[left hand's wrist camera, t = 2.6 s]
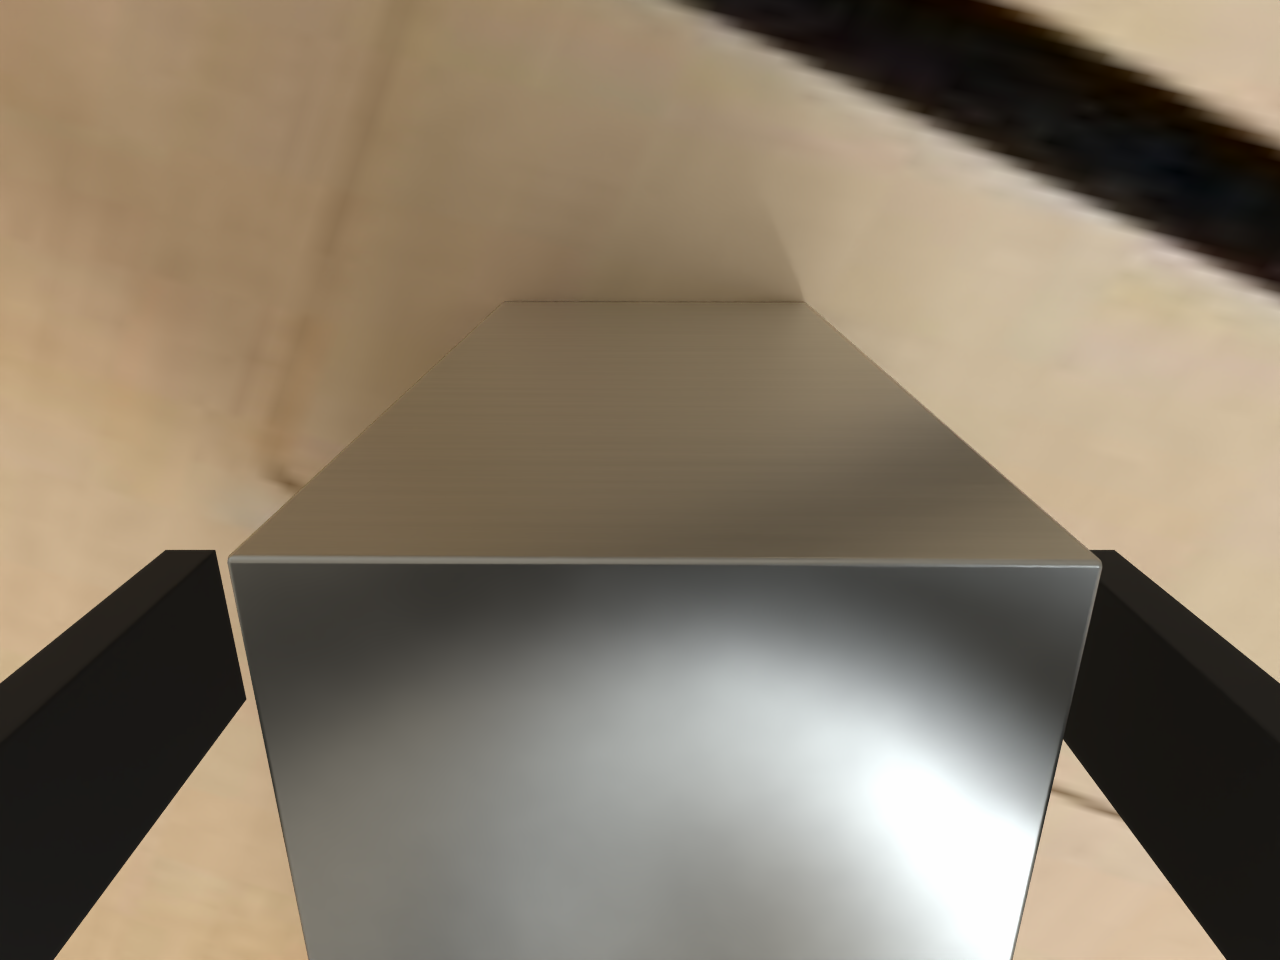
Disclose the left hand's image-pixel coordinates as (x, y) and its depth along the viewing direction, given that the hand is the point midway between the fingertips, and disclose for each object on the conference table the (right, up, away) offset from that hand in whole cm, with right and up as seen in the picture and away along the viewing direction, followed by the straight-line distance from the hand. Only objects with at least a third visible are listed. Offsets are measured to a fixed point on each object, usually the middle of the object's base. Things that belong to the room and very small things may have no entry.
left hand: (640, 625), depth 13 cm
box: (0, -4, +9) cm, 10 cm away
